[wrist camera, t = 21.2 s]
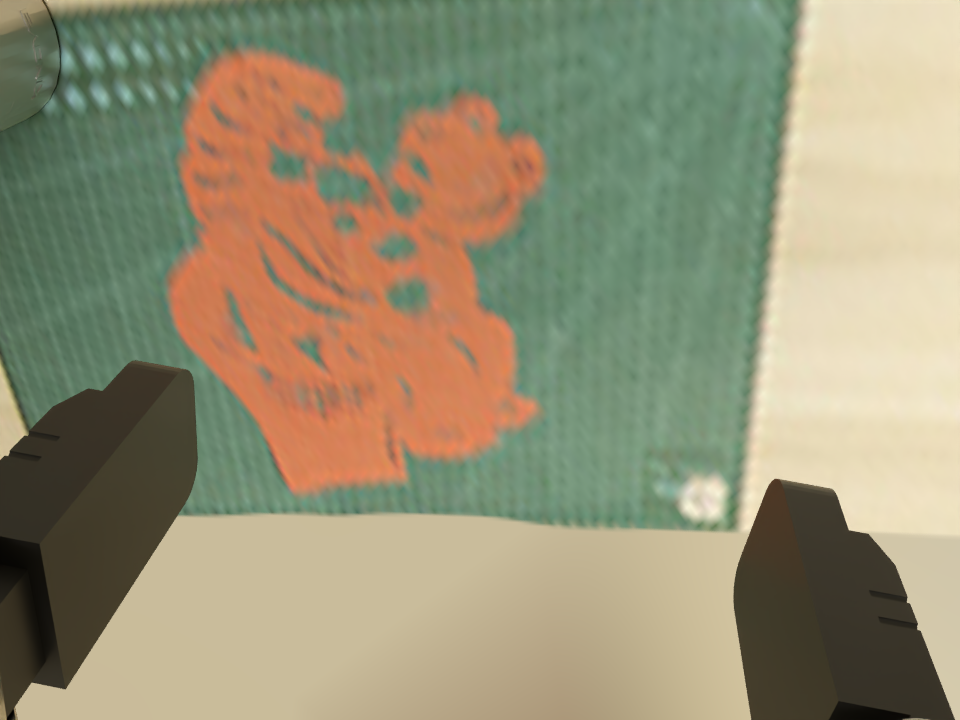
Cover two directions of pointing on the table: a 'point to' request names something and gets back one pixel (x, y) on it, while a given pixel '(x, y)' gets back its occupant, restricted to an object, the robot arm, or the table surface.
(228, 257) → the table surface
